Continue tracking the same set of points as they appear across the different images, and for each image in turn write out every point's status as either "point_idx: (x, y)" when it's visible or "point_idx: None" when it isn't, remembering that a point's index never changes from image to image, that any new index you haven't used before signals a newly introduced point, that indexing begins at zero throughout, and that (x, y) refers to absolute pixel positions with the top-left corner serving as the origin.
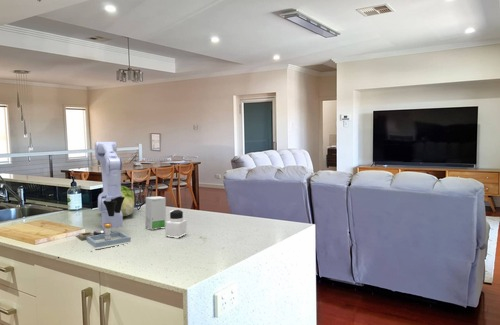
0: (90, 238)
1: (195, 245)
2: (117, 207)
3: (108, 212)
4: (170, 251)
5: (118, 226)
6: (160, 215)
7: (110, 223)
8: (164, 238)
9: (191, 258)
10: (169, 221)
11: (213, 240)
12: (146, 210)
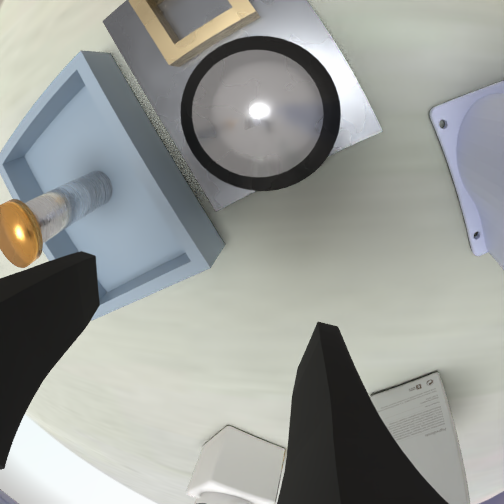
0: (46, 96)
1: (136, 447)
2: (305, 413)
3: (41, 274)
4: (71, 390)
5: (487, 228)
6: None
7: (25, 256)
8: (208, 418)
9: (47, 404)
10: (211, 490)
11: (188, 481)
12: (443, 471)
